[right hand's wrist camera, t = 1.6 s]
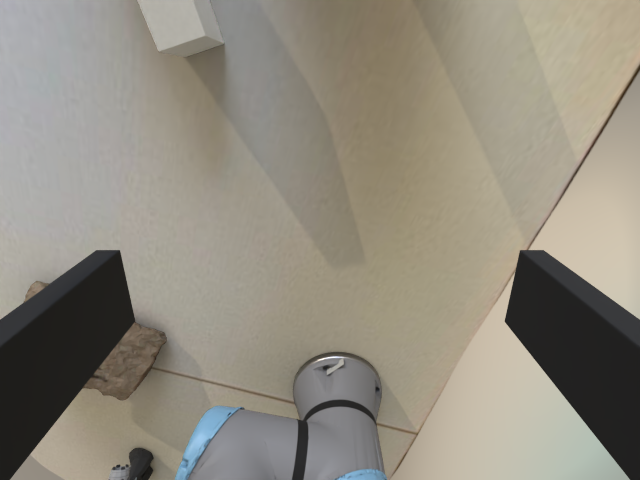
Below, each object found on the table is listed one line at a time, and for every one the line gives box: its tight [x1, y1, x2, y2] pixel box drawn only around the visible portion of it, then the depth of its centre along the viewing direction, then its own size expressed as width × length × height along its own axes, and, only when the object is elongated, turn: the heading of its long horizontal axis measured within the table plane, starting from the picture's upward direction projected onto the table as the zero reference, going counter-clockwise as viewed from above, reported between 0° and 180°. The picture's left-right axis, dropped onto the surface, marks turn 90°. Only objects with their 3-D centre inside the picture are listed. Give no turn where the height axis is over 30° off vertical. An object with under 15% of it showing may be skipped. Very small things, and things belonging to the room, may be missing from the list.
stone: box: [24, 281, 167, 400], centre depth 60 cm, size 21×15×6 cm
